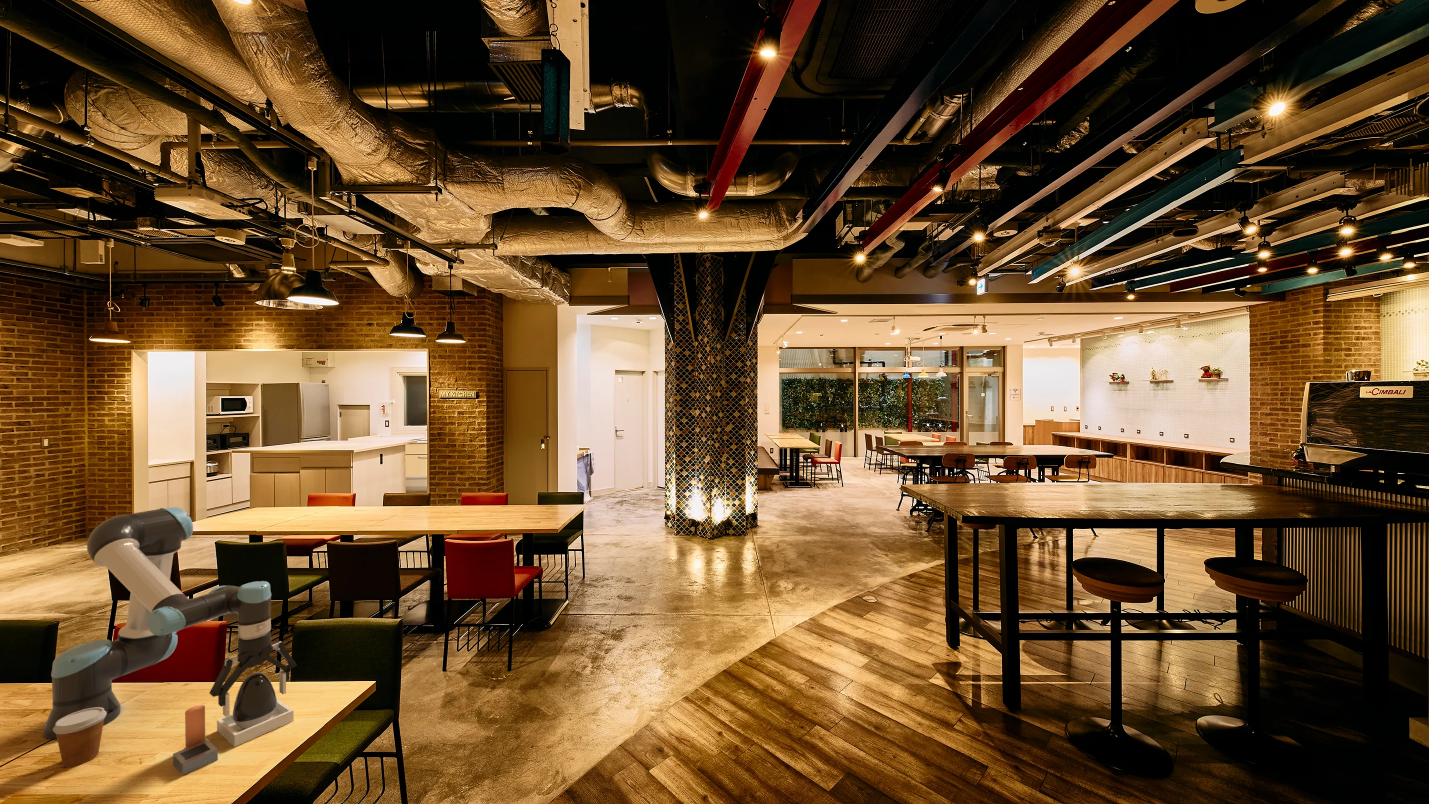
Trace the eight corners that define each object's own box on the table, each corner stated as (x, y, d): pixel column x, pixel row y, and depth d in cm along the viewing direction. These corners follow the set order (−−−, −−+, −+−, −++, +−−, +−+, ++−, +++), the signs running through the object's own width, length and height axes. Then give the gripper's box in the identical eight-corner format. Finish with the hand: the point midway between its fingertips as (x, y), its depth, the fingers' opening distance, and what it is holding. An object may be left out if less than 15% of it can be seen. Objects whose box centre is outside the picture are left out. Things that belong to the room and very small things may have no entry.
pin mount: (173, 764, 143) (172, 753, 143) (207, 749, 149) (207, 739, 149) (182, 775, 139) (182, 764, 139) (217, 759, 145) (217, 749, 145)
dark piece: (239, 738, 153) (238, 686, 152) (227, 726, 158) (226, 676, 158) (282, 720, 161) (282, 671, 161) (269, 709, 167) (269, 662, 167)
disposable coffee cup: (69, 773, 139) (68, 729, 139) (43, 768, 141) (43, 724, 141) (116, 750, 149) (116, 708, 149) (91, 745, 151) (91, 704, 151)
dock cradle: (217, 730, 157) (216, 719, 157) (274, 707, 169) (274, 696, 169) (234, 746, 150) (234, 735, 150) (293, 720, 162) (293, 710, 162)
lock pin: (183, 748, 149) (183, 710, 148) (202, 741, 152) (202, 703, 152) (188, 754, 146) (187, 715, 146) (207, 745, 150) (206, 708, 150)
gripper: (203, 654, 147) (204, 729, 147) (308, 622, 168) (309, 687, 168) (194, 648, 151) (195, 721, 151) (298, 616, 172) (298, 680, 172)
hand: (255, 703), depth 160 cm, fingers open, 13 cm apart
